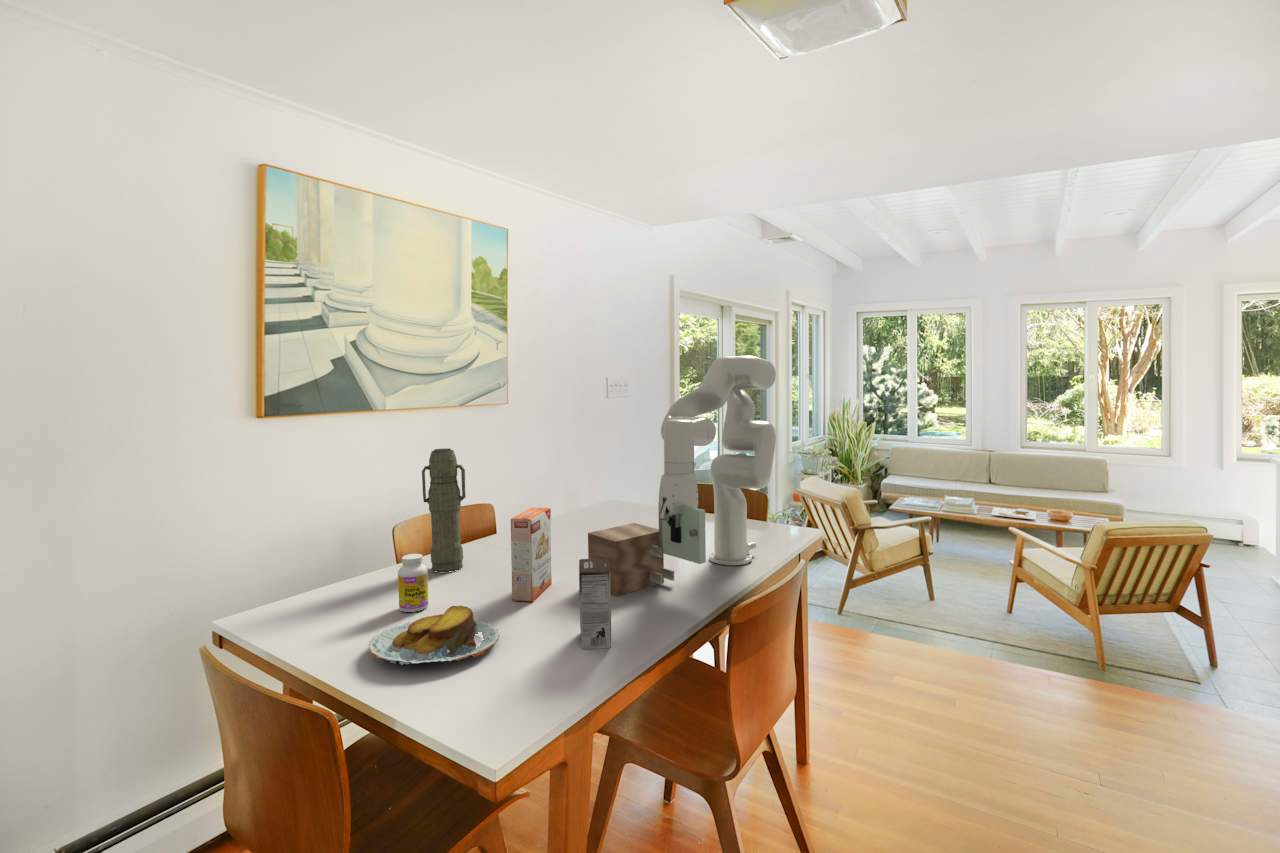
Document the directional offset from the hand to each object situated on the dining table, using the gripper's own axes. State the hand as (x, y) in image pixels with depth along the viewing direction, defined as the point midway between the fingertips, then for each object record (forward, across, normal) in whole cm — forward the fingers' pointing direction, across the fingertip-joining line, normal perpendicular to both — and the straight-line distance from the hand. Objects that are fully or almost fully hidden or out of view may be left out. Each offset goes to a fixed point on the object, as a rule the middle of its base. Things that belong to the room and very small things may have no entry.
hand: (679, 540), depth 154 cm
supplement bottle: (+14, +54, -36) cm, 67 cm away
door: (+4, 0, +1) cm, 4 cm away
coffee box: (+14, +32, +8) cm, 36 cm away
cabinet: (+14, +5, -13) cm, 20 cm away
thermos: (+14, +35, -61) cm, 72 cm away
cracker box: (+14, +27, -26) cm, 40 cm away
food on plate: (+15, +59, -11) cm, 62 cm away
